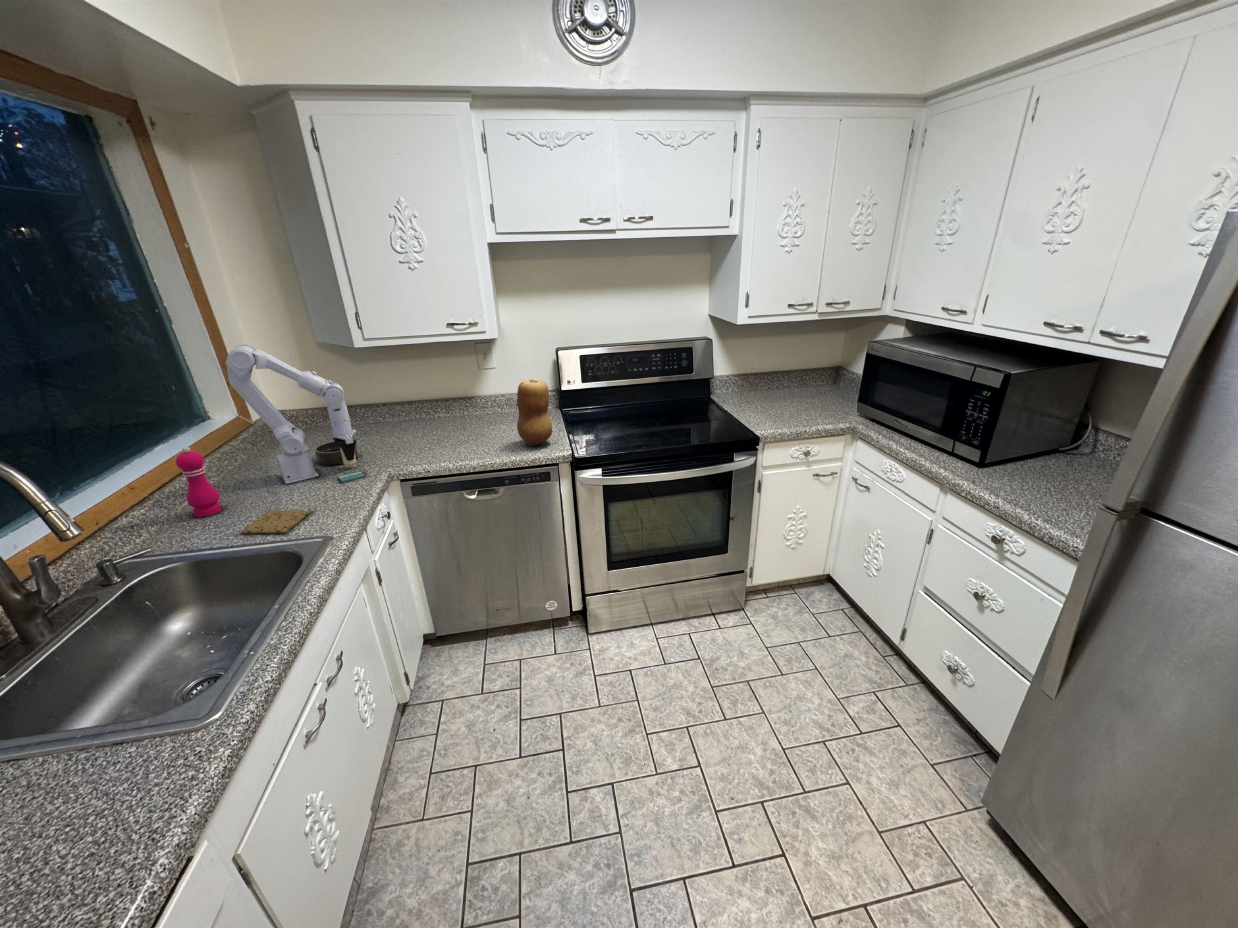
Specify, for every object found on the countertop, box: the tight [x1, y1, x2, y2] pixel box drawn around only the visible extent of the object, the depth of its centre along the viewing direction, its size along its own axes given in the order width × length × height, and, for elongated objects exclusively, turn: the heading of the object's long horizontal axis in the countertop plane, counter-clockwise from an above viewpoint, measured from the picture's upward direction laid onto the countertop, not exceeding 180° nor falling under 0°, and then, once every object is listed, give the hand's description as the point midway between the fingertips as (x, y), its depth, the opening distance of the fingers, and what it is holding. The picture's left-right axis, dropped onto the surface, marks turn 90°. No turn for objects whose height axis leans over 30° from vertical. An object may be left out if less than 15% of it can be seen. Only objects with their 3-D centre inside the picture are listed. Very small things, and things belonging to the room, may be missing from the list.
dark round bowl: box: [313, 440, 359, 466], centre depth 181 cm, size 13×13×5 cm
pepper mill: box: [175, 446, 223, 518], centre depth 141 cm, size 7×7×20 cm
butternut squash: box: [516, 378, 553, 447], centre depth 191 cm, size 14×13×25 cm
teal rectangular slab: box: [337, 470, 366, 483], centre depth 167 cm, size 7×5×1 cm
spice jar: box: [339, 446, 357, 466], centre depth 172 cm, size 4×4×7 cm
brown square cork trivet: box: [241, 510, 312, 535], centre depth 138 cm, size 12×12×1 cm
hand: (348, 458), depth 172 cm, fingers closed on spice jar, 4 cm apart
